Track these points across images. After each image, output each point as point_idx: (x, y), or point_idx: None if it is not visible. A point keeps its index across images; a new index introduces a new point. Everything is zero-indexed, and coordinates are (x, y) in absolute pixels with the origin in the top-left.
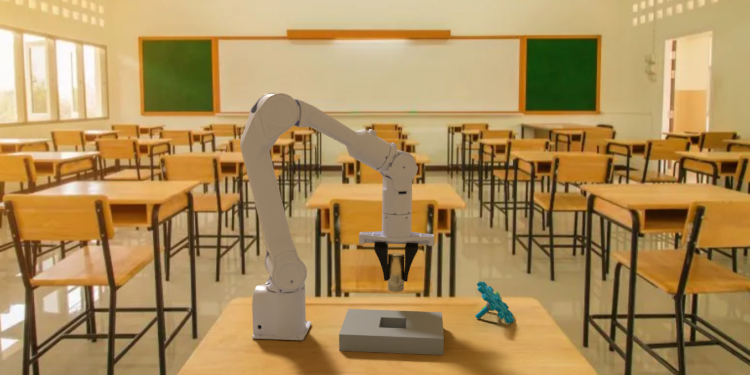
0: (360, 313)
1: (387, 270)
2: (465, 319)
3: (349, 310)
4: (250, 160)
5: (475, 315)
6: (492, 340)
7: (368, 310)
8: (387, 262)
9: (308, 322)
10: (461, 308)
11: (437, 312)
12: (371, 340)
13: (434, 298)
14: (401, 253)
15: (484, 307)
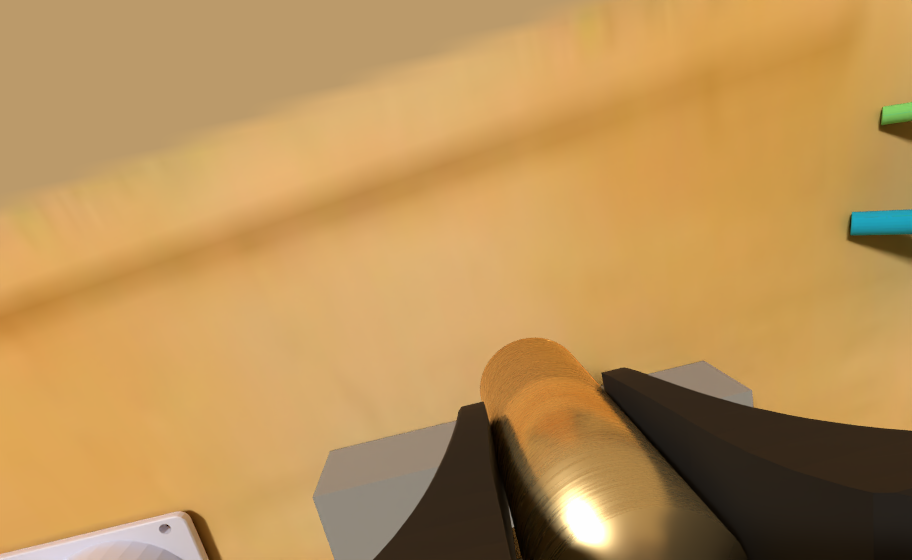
0: (391, 527)
1: (506, 509)
2: (796, 247)
3: (327, 513)
4: None
5: (853, 226)
6: (887, 410)
7: (413, 483)
8: (499, 499)
9: (177, 529)
10: (779, 114)
11: (731, 400)
12: None
13: (635, 4)
14: (703, 526)
15: (906, 119)
